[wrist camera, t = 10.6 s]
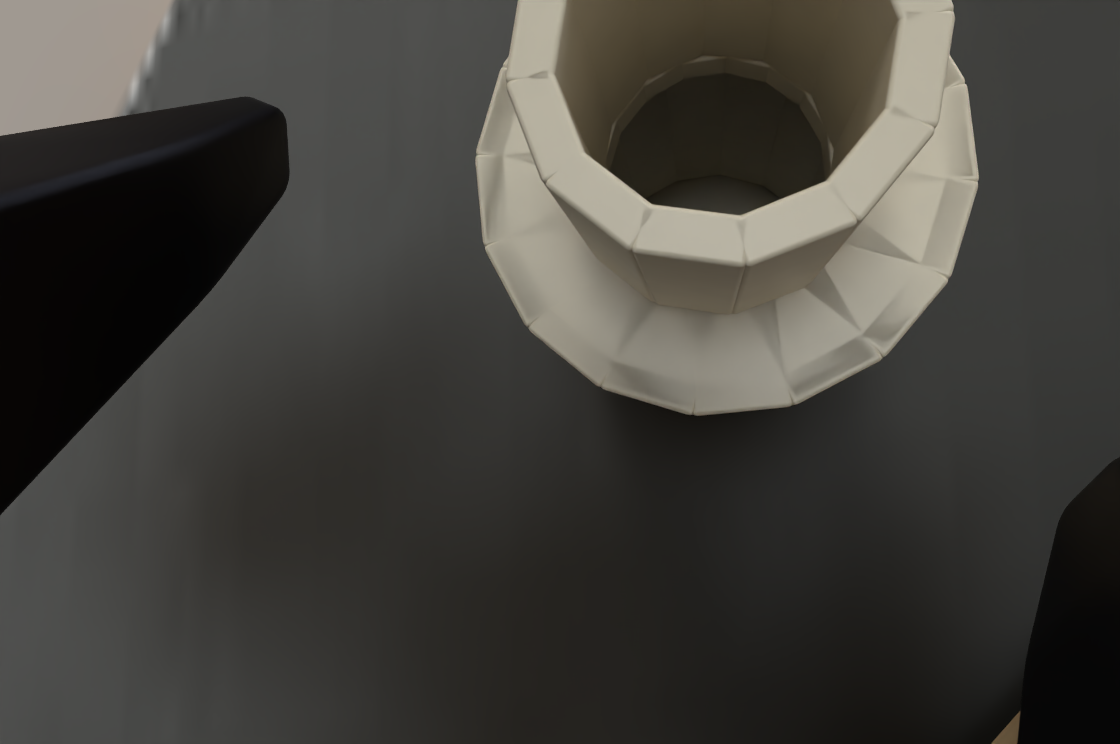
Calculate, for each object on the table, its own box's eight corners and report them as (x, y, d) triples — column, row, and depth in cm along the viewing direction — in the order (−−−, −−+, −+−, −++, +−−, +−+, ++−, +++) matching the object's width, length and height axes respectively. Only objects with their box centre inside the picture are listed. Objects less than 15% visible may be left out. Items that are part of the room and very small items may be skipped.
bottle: (728, 462, 18) (779, 567, 6) (539, 309, 18) (240, 123, 7) (891, 266, 17) (1296, -46, 5) (691, 118, 18) (667, -443, 6)
